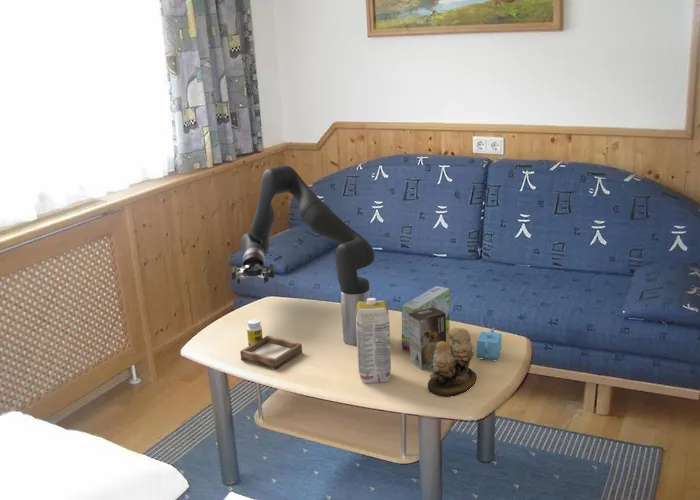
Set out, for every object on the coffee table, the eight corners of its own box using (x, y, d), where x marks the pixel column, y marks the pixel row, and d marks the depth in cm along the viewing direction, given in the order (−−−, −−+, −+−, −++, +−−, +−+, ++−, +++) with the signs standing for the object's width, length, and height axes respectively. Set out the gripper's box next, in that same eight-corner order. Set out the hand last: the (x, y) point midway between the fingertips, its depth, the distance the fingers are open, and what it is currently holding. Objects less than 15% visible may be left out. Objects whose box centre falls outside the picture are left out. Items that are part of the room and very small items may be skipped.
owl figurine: (451, 366, 215) (451, 312, 209) (487, 376, 208) (488, 321, 202) (417, 390, 201) (417, 334, 196) (455, 402, 194) (455, 344, 189)
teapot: (483, 346, 226) (483, 323, 224) (502, 348, 224) (503, 325, 222) (475, 362, 216) (475, 339, 213) (496, 365, 213) (496, 341, 211)
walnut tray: (302, 352, 228) (301, 344, 227) (276, 369, 218) (275, 360, 217) (267, 344, 235) (267, 335, 234) (241, 359, 225) (240, 351, 224)
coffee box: (435, 354, 222) (434, 306, 217) (447, 362, 216) (446, 313, 212) (409, 362, 218) (408, 312, 213) (421, 370, 212) (420, 320, 208)
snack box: (416, 354, 223) (415, 309, 218) (401, 350, 226) (399, 305, 222) (450, 330, 239) (450, 287, 234) (436, 326, 242) (435, 284, 238)
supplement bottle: (256, 349, 232) (254, 325, 229) (245, 346, 234) (243, 322, 232) (266, 343, 236) (264, 319, 233) (254, 341, 238) (252, 317, 236)
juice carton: (390, 370, 213) (387, 294, 206) (392, 383, 206) (389, 305, 198) (358, 372, 213) (354, 296, 206) (359, 385, 206) (355, 306, 198)
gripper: (232, 252, 251) (229, 271, 236) (273, 250, 252) (273, 269, 238) (233, 272, 254) (231, 292, 239) (274, 270, 255) (274, 290, 240)
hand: (252, 281), depth 238 cm, fingers open, 8 cm apart
